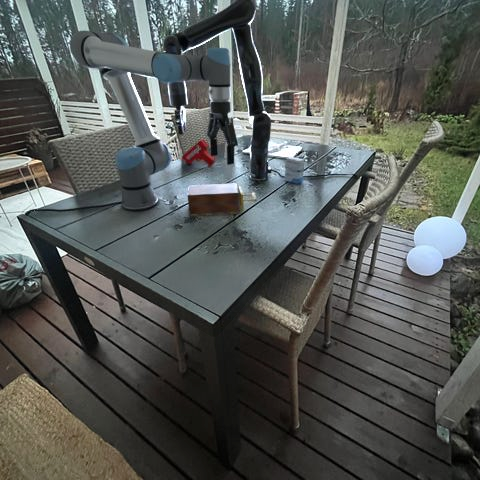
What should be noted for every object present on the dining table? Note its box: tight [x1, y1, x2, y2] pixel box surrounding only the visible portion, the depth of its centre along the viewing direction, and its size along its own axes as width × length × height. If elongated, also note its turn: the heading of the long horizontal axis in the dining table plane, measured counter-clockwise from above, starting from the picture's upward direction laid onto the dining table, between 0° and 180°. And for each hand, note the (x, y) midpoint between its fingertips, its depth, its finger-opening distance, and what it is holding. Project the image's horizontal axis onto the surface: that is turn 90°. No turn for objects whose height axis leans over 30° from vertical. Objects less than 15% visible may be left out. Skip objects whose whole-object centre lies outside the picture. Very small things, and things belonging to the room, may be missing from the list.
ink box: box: [284, 156, 306, 185], centre depth 140 cm, size 8×5×12 cm, turn 47°
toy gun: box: [181, 138, 216, 167], centre depth 167 cm, size 18×4×15 cm
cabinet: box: [187, 182, 240, 217], centre depth 113 cm, size 20×10×9 cm, turn 96°
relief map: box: [242, 138, 304, 160], centre depth 192 cm, size 27×35×5 cm
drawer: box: [237, 185, 258, 212], centre depth 114 cm, size 25×9×7 cm, turn 96°
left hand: (222, 159), depth 109 cm, fingers open, 13 cm apart
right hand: (182, 132), depth 126 cm, fingers open, 8 cm apart
